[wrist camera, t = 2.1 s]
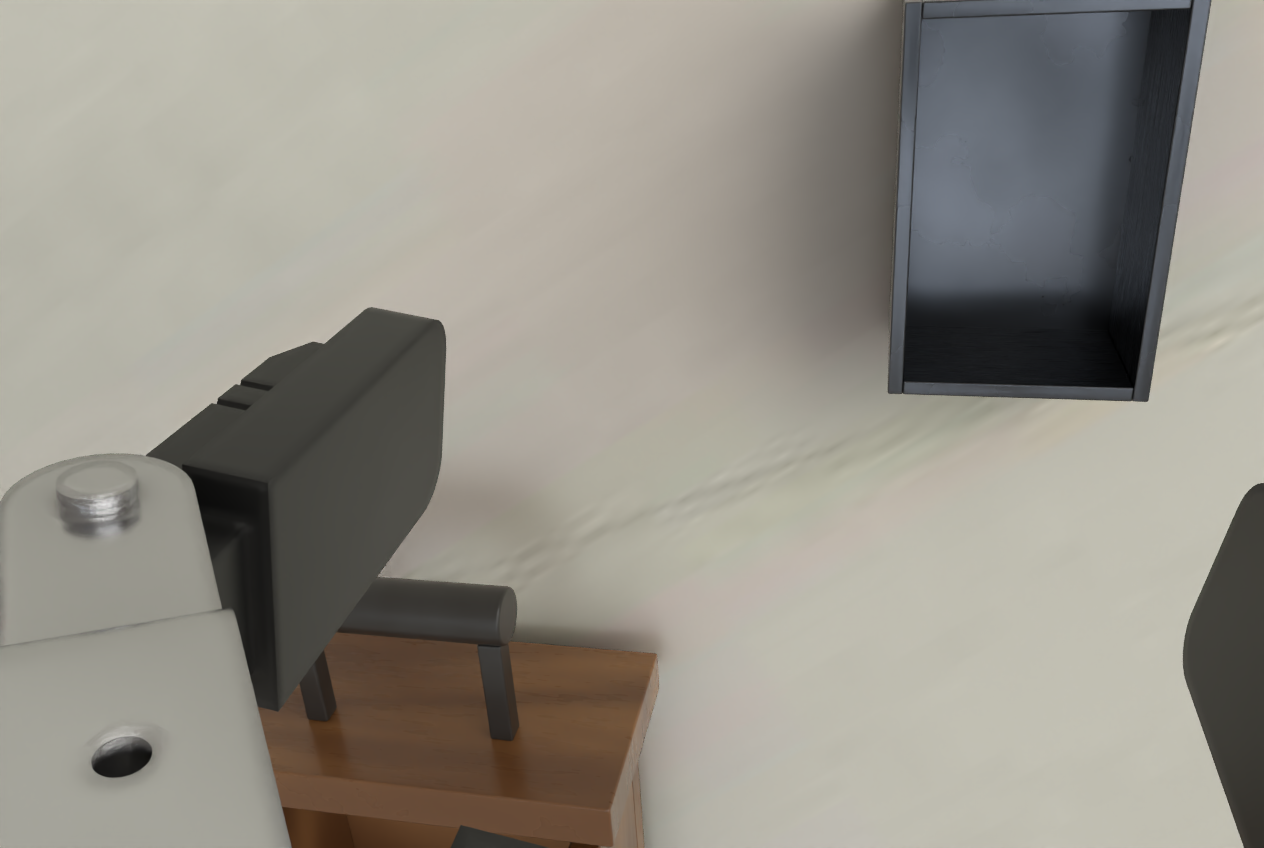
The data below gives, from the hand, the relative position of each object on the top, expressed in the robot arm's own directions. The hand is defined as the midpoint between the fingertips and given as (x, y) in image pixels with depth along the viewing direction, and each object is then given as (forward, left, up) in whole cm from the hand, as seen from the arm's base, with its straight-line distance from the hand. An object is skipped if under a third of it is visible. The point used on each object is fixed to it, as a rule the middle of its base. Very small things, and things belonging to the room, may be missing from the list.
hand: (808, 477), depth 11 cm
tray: (-3, 0, -15) cm, 15 cm away
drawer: (+11, +19, -14) cm, 26 cm away
